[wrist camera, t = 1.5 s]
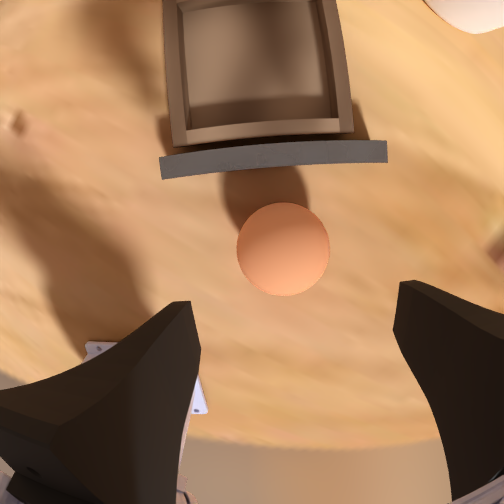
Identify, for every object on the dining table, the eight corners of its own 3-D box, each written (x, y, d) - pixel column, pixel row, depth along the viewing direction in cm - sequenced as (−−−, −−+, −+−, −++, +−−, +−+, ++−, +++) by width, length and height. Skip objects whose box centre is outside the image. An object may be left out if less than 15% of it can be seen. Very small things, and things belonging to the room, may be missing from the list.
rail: (174, 174, 17) (161, 179, 15) (171, 155, 17) (158, 157, 15) (371, 159, 17) (387, 162, 15) (370, 140, 16) (386, 140, 14)
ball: (243, 275, 20) (239, 317, 15) (234, 198, 18) (227, 219, 13) (320, 269, 19) (338, 308, 15) (318, 192, 18) (340, 210, 13)
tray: (182, 147, 17) (173, 147, 15) (171, 8, 14) (162, -5, 12) (343, 133, 16) (354, 132, 15) (324, -5, 13) (331, -18, 11)
